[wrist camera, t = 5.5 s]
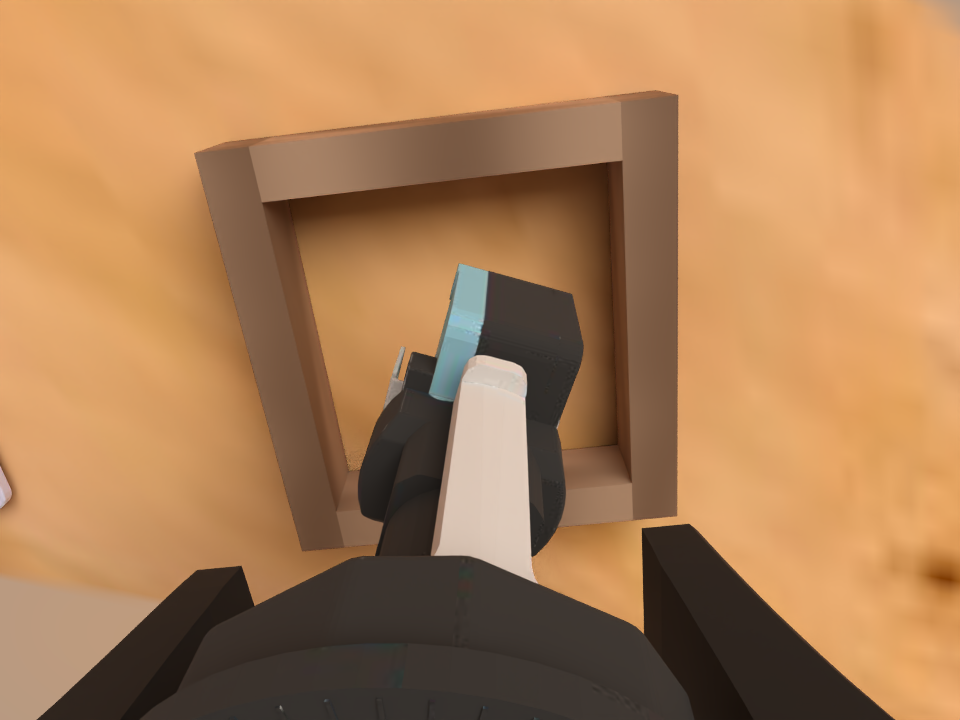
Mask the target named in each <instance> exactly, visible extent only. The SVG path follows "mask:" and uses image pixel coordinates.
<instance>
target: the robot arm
mask: <svg viewBox="0 0 960 720" xmlns="http://www.w3.org/2000/svg"><path fill="white" fill-rule="evenodd" d="M11 496H12V492H11V488H10V486H9V484H8V482H7V480H6V478H5V475H4V473H3V471H2V469H1V467H0V509H1V508H2V507H3V506H4V505H5V504H6V503H7V502H8V501H9V500H10V499H11ZM642 558H643V602H644V635H645V636H646V638H647V639H648V641H649V642H650V643H651V645H652V646H653V647H654V649H655V650H656V652H657V653H658V654H659V656H660V657H661V658H662V660H663V661H664V662H665V664H666V665H667V667H668V668H669V669H670V671H671V672H672V673H673V675H674V676H675V678H676V679H677V680H678V682H679V683H680V684H681V686H682V687H683V689H684V690H685V691H686V693H687V695H688V697H689V700H690V704H691V708H692V712H693V715H694V719H695V720H895V719H894V718H892V717H891V716H890V715H889V714H888V713H886V712H885V711H884V710H883V709H882V708H881V707H879V706H878V705H877V704H876V703H875V702H874V701H872V700H871V699H870V698H869V697H868V696H867V695H865V694H864V693H863V692H862V691H861V690H860V689H859V688H857V687H856V686H855V685H854V684H853V683H852V682H850V681H849V680H848V679H847V678H846V677H845V676H844V675H843V674H841V673H840V672H839V671H838V670H837V669H836V668H835V667H834V666H833V665H831V664H830V663H829V662H828V661H827V660H826V659H825V658H824V657H823V656H821V655H820V654H819V653H818V652H817V651H816V650H815V649H814V648H813V647H812V646H811V645H810V644H809V643H808V642H807V641H806V640H805V639H803V638H802V637H801V636H800V635H799V634H798V633H797V632H796V631H795V630H794V629H793V628H792V627H791V626H790V625H789V624H788V623H787V622H785V621H784V620H783V619H782V618H781V617H780V616H779V615H778V614H777V613H776V612H775V611H774V610H773V609H772V608H771V607H770V606H769V605H768V604H767V603H766V602H765V601H764V600H763V599H762V598H761V597H760V596H759V595H758V594H757V593H756V592H755V591H754V590H753V589H752V588H751V587H750V586H749V585H748V584H747V583H746V582H745V581H744V580H743V579H742V578H741V577H740V576H739V575H738V574H737V572H736V571H735V570H734V569H733V568H732V567H731V566H730V565H729V564H728V563H727V562H726V561H725V560H724V559H723V558H722V557H721V556H720V554H719V553H718V552H717V551H716V550H715V549H714V548H713V547H712V546H711V545H710V544H709V543H708V542H707V540H706V539H705V538H704V537H703V536H702V535H701V534H700V533H699V532H698V531H697V530H696V529H695V528H694V527H692V526H691V525H690V524H683V525H673V526H662V527H651V528H642ZM252 607H254V603H253V600H252V597H251V594H250V591H249V588H248V584H247V581H246V578H245V575H244V572H243V569H242V566H236V567H226V568H215V569H205V570H197V571H196V572H194V573H193V574H192V575H191V576H190V577H189V578H188V579H186V580H185V581H184V582H183V583H182V584H181V585H180V586H179V587H178V588H176V589H175V590H174V591H173V592H172V593H171V594H170V595H169V596H168V597H167V598H166V599H165V600H164V601H163V602H162V603H161V604H159V605H158V606H157V607H156V608H155V609H154V610H153V611H152V612H151V613H150V614H149V615H148V616H147V617H146V618H145V619H144V620H143V621H142V622H141V623H140V624H139V625H138V626H137V627H135V629H134V630H132V631H131V632H130V633H129V634H128V635H127V636H126V637H125V638H124V639H123V640H122V641H121V642H120V643H119V644H118V645H117V646H116V647H115V648H114V649H112V650H111V651H110V652H109V653H108V654H107V655H106V656H105V657H104V658H103V659H102V660H101V661H100V662H99V663H98V664H97V665H96V666H94V667H93V668H92V669H91V670H90V671H89V672H88V673H87V674H86V675H85V676H84V677H83V678H82V679H81V680H80V681H79V682H78V683H77V684H75V685H74V686H73V687H72V688H71V689H70V690H69V691H68V692H67V693H66V694H65V695H64V696H63V697H62V698H61V699H59V700H58V701H57V702H56V703H55V704H54V705H53V706H52V707H51V708H49V709H48V710H47V711H46V712H45V713H44V714H43V715H42V716H41V717H39V718H38V719H37V720H139V719H140V718H142V717H143V716H144V715H145V714H146V713H147V712H149V711H150V710H151V709H152V708H153V707H155V706H156V705H158V704H159V703H161V702H162V701H164V700H166V699H167V698H169V697H170V696H172V695H173V694H175V693H176V692H177V690H178V688H179V686H180V684H181V682H182V680H183V678H184V676H185V674H186V672H187V670H188V668H189V666H190V664H191V662H192V660H193V658H194V656H195V654H196V652H197V650H198V648H199V646H200V644H201V642H202V640H203V638H204V637H205V635H206V634H207V633H208V632H209V631H210V630H211V629H212V628H213V627H215V626H216V625H218V624H220V623H222V622H224V621H226V620H228V619H230V618H232V617H234V616H236V615H238V614H240V613H242V612H244V611H246V610H248V609H250V608H252Z"/></svg>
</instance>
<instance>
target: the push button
mask: <svg viewBox="0 0 960 720" xmlns="http://www.w3.org/2000/svg"><path fill="white" fill-rule="evenodd" d="M450 300H451V301H450V305H449V308H448V312H447V316H446V319H445V323H444V327H443V330H442V334H441V337H440V341H439V345H438V348H437V352H436V356H435V357H432V356H428V355H424V354H420V353H417V352H412V353H411V357H410V360H409V363H408V367H407V370H406V374H405V378H404V381H401V380H398V376H399V372H400V368H401V364H402V360H403V356H404V352H405V347H402V346H401V349H400V352H399V355H398V358H397V361H396V364H395V367H394V370H393V374H392V377H391V379H390V383H389V387H388V392H387V396H386V400H385V404H384V408H383V411H382V413H381V415H380V417H379V418H378V420H377V422H376V424H375V427H374V430H373V433H372V436H371V439H370V442H369V445H368V448H367V451H366V454H365V457H364V460H363V463H362V466H361V469H360V472H359V479H358V501H359V505H360V510H361V514H362V515H363V516H365V517H367V518H369V519H371V520H374V521H378V522H382V523H383V527H382V531H381V535H380V539H379V543H378V547H377V550H376V554H375V556H361V557H356V558H351V559H349V560H347V561H345V562H343V563H341V564H339V565H337V566H335V567H333V568H331V569H329V570H327V571H325V572H323V573H321V574H318V575H316V576H314V577H312V578H310V579H308V580H306V581H304V582H302V583H300V584H298V585H296V586H294V587H292V588H290V589H288V590H286V591H284V592H282V593H280V594H278V595H276V596H274V597H272V598H270V599H268V600H266V601H264V602H262V603H260V604H258V605H256V606H254V607H252V608H250V609H248V610H246V611H244V612H242V613H240V614H238V615H236V616H234V617H232V618H230V619H228V620H226V621H224V622H222V623H220V624H218V625H216V626H215V627H213V628H212V629H211V630H210V631H209V632H208V633H207V634H206V635H205V637H204V638H203V640H202V642H201V644H200V646H199V648H198V650H197V652H196V654H195V656H194V658H193V660H192V662H191V664H190V666H189V668H188V670H187V672H186V674H185V676H184V678H183V680H182V682H181V684H180V686H179V688H178V690H177V692H176V693H175V694H173V695H172V696H170V697H169V698H167V699H166V700H164V701H162V702H161V703H159V704H158V705H156V706H155V707H153V708H152V709H151V710H150V711H149V712H147V713H146V714H145V715H144V716H143V717H142V718H140V719H139V720H695V719H694V715H693V712H692V708H691V704H690V700H689V697H688V695H687V693H686V691H685V690H684V689H683V687H682V686H681V684H680V683H679V682H678V680H677V679H676V678H675V676H674V675H673V673H672V672H671V671H670V669H669V668H668V667H667V665H666V664H665V662H664V661H663V660H662V658H661V657H660V656H659V654H658V653H657V652H656V650H655V649H654V647H653V646H652V645H651V643H650V642H649V641H648V639H647V638H646V636H645V635H644V634H643V633H642V632H641V631H640V630H639V629H638V628H637V627H635V626H633V625H632V624H630V623H628V622H626V621H624V620H621V619H619V618H617V617H614V616H612V615H610V614H607V613H605V612H603V611H600V610H598V609H596V608H593V607H591V606H589V605H586V604H584V603H582V602H579V601H577V600H575V599H572V598H570V597H568V596H565V595H563V594H561V593H558V592H556V591H553V590H551V589H549V588H546V587H544V586H542V585H539V584H538V583H537V581H536V579H535V577H534V574H533V570H532V562H531V557H533V556H535V555H536V554H537V553H538V552H539V551H540V550H541V549H542V548H543V547H544V546H545V545H546V544H547V543H548V541H549V540H550V538H551V537H552V536H553V534H554V533H555V531H556V529H557V527H558V525H559V523H560V521H561V518H562V515H563V511H564V507H565V499H566V485H565V475H564V467H563V458H562V450H561V442H560V438H559V435H558V431H557V428H558V425H559V422H560V418H561V415H562V412H563V410H564V407H565V405H566V402H567V399H568V397H569V394H570V391H571V389H572V386H573V384H574V381H575V378H576V376H577V373H578V370H579V368H580V364H581V361H582V356H583V349H584V345H583V340H582V336H581V331H580V327H579V322H578V318H577V313H576V309H575V305H574V300H573V296H572V294H570V293H566V292H563V291H559V290H555V289H552V288H549V287H545V286H541V285H538V284H534V283H530V282H527V281H523V280H519V279H516V278H512V277H509V276H505V275H501V274H498V273H494V272H490V271H485V270H482V269H478V268H474V267H471V266H467V265H464V264H460V263H459V265H458V268H457V272H456V276H455V279H454V283H453V287H452V290H451V295H450Z"/></svg>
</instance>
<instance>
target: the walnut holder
mask: <svg viewBox="0 0 960 720" xmlns="http://www.w3.org/2000/svg"><path fill="white" fill-rule="evenodd" d="M194 154H195V158H196V162H197V165H198V169H199V173H200V176H201V180H202V184H203V187H204V191H205V195H206V198H207V202H208V206H209V210H210V213H211V217H212V221H213V224H214V228H215V232H216V235H217V239H218V243H219V246H220V250H221V254H222V257H223V261H224V265H225V268H226V272H227V276H228V280H229V283H230V287H231V291H232V294H233V298H234V302H235V305H236V309H237V313H238V316H239V320H240V324H241V327H242V331H243V335H244V338H245V342H246V346H247V349H248V353H249V357H250V361H251V364H252V368H253V372H254V375H255V379H256V383H257V386H258V390H259V394H260V397H261V401H262V405H263V408H264V412H265V416H266V419H267V423H268V427H269V431H270V434H271V438H272V442H273V445H274V449H275V453H276V456H277V460H278V464H279V467H280V471H281V475H282V478H283V482H284V486H285V489H286V493H287V497H288V500H289V504H290V508H291V512H292V515H293V519H294V523H295V526H296V530H297V534H298V537H299V541H300V545H301V548H302V551H311V550H322V549H332V548H343V547H354V546H364V545H375V544H378V543H379V539H380V535H381V531H382V527H383V523H382V522H378V521H374V520H371V519H369V518H367V517H365V516H363V515H362V514H361V510H360V505H359V501H358V479H359V472H360V470H357V471H349V470H348V466H347V461H346V457H345V452H344V448H343V443H342V439H341V434H340V430H339V426H338V421H337V417H336V412H335V408H334V403H333V399H332V394H331V390H330V385H329V381H328V376H327V372H326V368H325V363H324V359H323V354H322V350H321V345H320V341H319V336H318V332H317V327H316V323H315V319H314V314H313V310H312V305H311V301H310V296H309V292H308V287H307V283H306V278H305V274H304V270H303V265H302V261H301V256H300V252H299V247H298V243H297V238H296V234H295V229H294V225H293V221H292V216H291V212H290V207H289V203H288V199H295V198H304V197H313V196H321V195H330V194H338V193H347V192H355V191H364V190H373V189H381V188H390V187H398V186H407V185H416V184H424V183H433V182H441V181H450V180H459V179H467V178H476V177H484V176H493V175H502V174H510V173H519V172H527V171H536V170H544V169H553V168H562V167H570V166H579V165H587V164H596V163H605V162H607V166H608V193H609V219H610V246H611V272H612V299H613V325H614V352H615V378H616V405H617V431H618V445H610V446H600V447H590V448H580V449H570V450H562V458H563V467H564V475H565V485H566V499H565V507H564V511H563V515H562V518H561V521H560V523H559V525H558V527H567V526H577V525H588V524H599V523H609V522H620V521H631V520H641V519H652V518H662V517H673V516H677V374H678V95H675V94H671V93H666V92H661V91H656V90H655V91H647V92H639V93H631V94H622V95H614V96H606V97H597V98H589V99H581V100H572V101H564V102H556V103H548V104H539V105H531V106H523V107H514V108H506V109H498V110H490V111H481V112H473V113H465V114H456V115H448V116H440V117H431V118H423V119H415V120H407V121H398V122H390V123H382V124H373V125H365V126H357V127H348V128H340V129H332V130H324V131H315V132H307V133H299V134H290V135H282V136H274V137H266V138H257V139H249V140H241V141H232V142H225V143H222V144H219V145H216V146H213V147H210V148H208V149H205V150H202V151H199V152H196V153H194Z"/></svg>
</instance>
